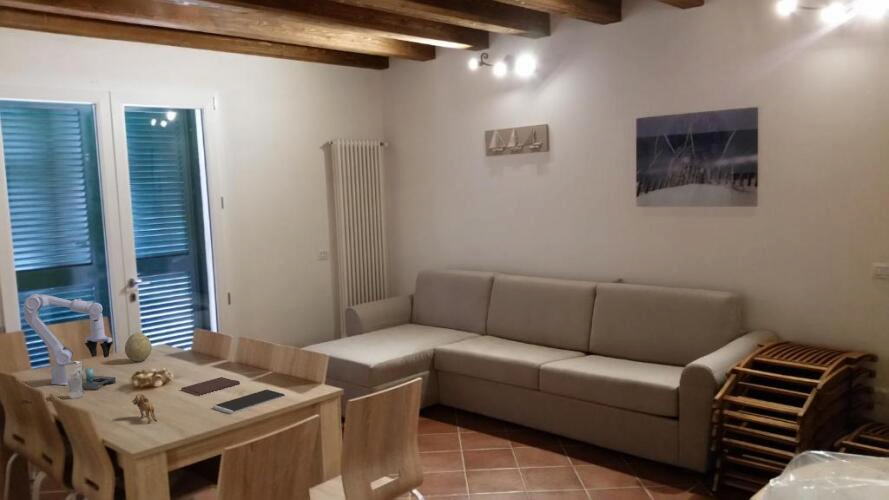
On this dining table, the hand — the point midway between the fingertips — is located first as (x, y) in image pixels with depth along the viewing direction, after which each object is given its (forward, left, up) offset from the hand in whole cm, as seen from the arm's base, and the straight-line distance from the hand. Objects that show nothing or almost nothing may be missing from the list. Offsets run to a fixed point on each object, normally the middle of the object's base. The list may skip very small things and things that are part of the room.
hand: (100, 356), depth 319 cm
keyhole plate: (+7, -11, -10) cm, 17 cm away
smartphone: (+94, -15, -11) cm, 95 cm away
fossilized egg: (-6, +30, -11) cm, 33 cm away
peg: (+4, -11, -11) cm, 16 cm away
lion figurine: (+65, -42, -11) cm, 79 cm away
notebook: (+63, -1, -11) cm, 64 cm away
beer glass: (+13, -26, -11) cm, 31 cm away
